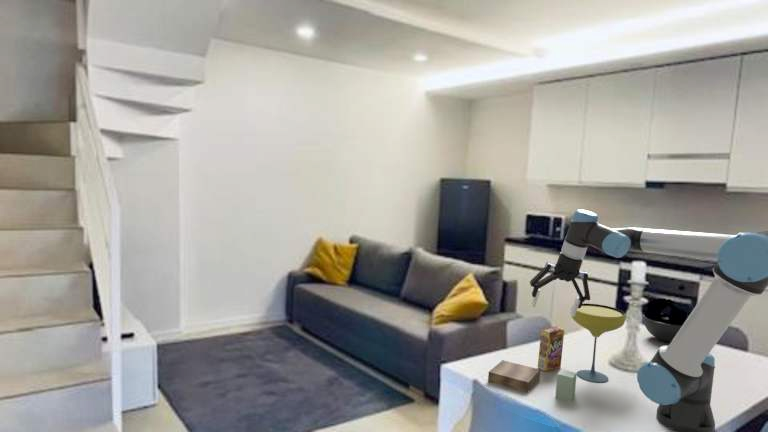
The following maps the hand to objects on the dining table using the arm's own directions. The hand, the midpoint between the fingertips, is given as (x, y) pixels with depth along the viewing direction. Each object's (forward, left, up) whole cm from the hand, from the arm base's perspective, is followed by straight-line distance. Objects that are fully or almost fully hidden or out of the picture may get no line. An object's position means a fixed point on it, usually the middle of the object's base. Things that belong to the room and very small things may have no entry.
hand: (552, 310), depth 174 cm
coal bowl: (-31, -84, -27) cm, 93 cm away
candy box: (+3, -15, -27) cm, 31 cm away
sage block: (-8, +7, -26) cm, 28 cm away
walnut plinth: (+10, +5, -27) cm, 29 cm away
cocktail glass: (-12, -17, -26) cm, 34 cm away
